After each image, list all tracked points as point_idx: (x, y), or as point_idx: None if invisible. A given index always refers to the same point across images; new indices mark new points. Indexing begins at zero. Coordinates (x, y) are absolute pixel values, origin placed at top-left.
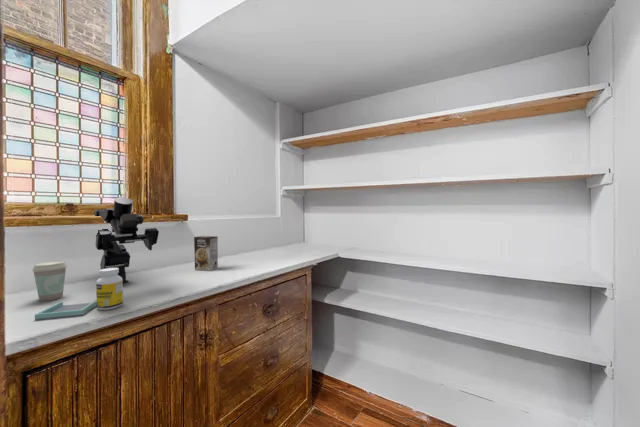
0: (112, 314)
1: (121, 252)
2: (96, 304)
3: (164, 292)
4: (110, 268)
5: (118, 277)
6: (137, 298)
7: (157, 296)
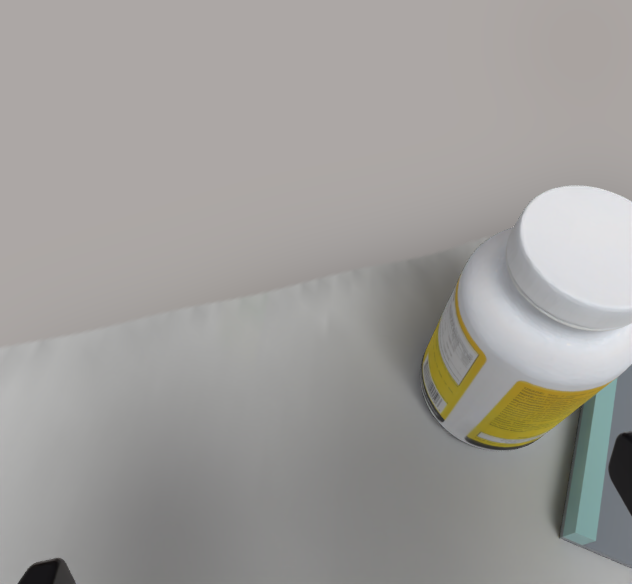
0: (455, 248)
1: (615, 447)
2: (576, 464)
3: (132, 511)
4: (598, 278)
5: (491, 250)
6: (330, 475)
7: (206, 427)
